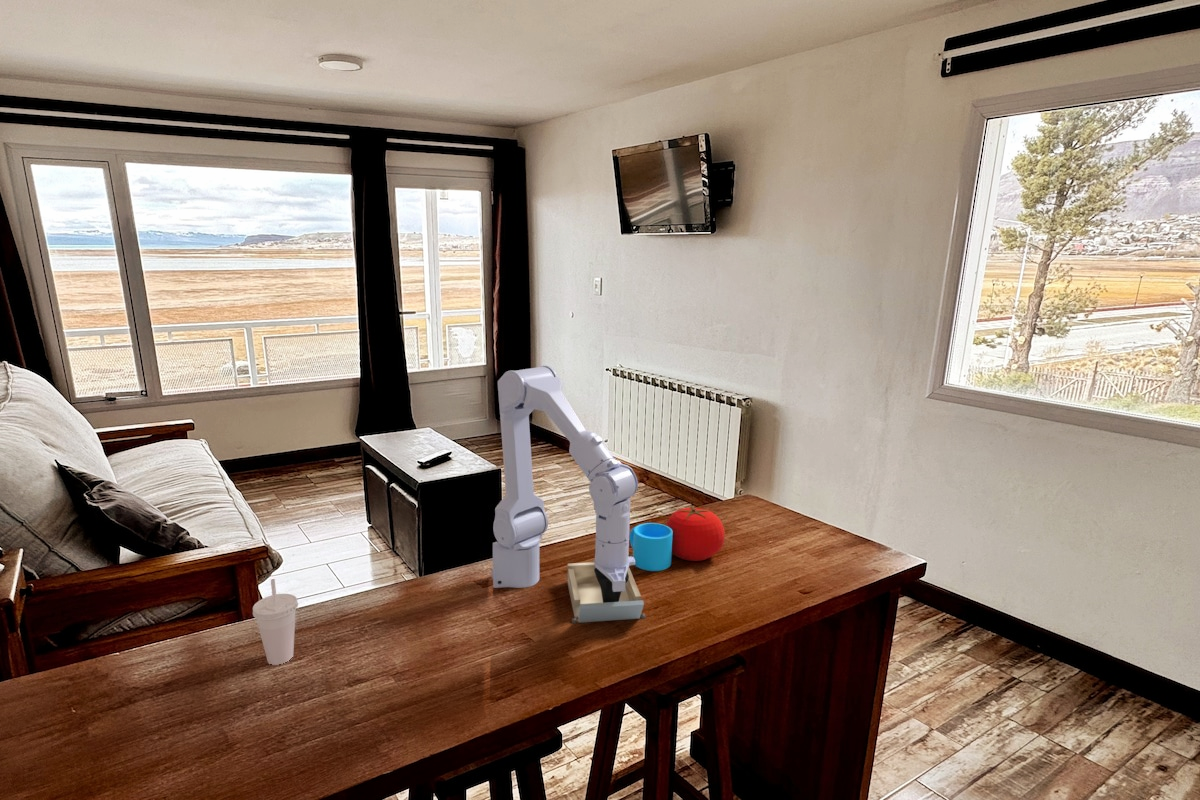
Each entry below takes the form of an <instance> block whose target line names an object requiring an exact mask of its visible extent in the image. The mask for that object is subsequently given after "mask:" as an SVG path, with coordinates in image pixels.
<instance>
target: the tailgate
mask: <svg viewBox="0 0 1200 800" xmlns="http://www.w3.org/2000/svg"><path fill="white" fill-rule="evenodd" d="M644 606H645V603H644V599H643V600H642V599H641V600H639V601H623V602H606V603H590V604H580V609H579V615H578V618H577V620H578V621H577V623H591V622H594V623H595V622H607V621H621V620H622V621H623V620H624V621H625V620H636V619H641V617H640V615H641V614H642V612H643V609H644Z"/></svg>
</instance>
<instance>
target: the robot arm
mask: <svg viewBox="0 0 1200 800" xmlns="http://www.w3.org/2000/svg"><path fill="white" fill-rule="evenodd" d="M497 391H498V404H499V415H500V417H499V420H500V432H501V444H502V445H501V446H502V457H503V461H502V462H503V473H504V485H505V486H504V487H505V489H504V490H505V496H504V497H503V498H502V499H501V500H500V501H499V502H498V504H497V505H496V507H495V509H494V513H495V515H494V521H493V526H492V528H493V529H492V530H493V535H494V537H495V539H496V541H495V542H492V569H491V579H492V587H493V588H495V589H498V588H518V589H523V588H528V587H529V588H530V587H533V586H535V585H536V584H538V582H539V581H540V541H541V540H542V539H543V534H544V533H546V532H547V529H548V527H549V519H548V515H547V512H546V510H545V505H544V500H543V499H542V497H540V496H538V495H537V494H535V493H534V490H535V489H534V477H533V462H532V461H533V460H532V459H533V458H532V447H531V432H530V431H531V430H530V414H531V413H532V412H534V411H541V412H542V411H543V412H544V413H545V414H546V415H547V417H548V418H549V419H550V420H551V421H552V422H553V423H554V425H555V426H556V427H557V428H558V430H559V431H560V432H561V433H562V435H564V437H565V438H566V439H567V440H568V441H569V449H568V450H569V451H568V452H569V454H570V456H571V457H572V459H573V460H574V461H575V463H576V464H577V466H578V467H579V469H581V471H582V473H583V474H584V475H585V477H586V478H587V480H588V481H589V483H590V484H589V485H588V490H589V495H590V497H591V499H592V502H593V510H594V512H595V551H594V553H595V555H594V559H593V560H594V561H593V562H594V566H595V567H596V568H595V569H594V571H595V575H596V578H597V580H598V582H599V584H600V587H601V593H602V599H603V603H606V602H619V599H620V595H621V592H622V591H625V584H626V583H627V581H628V579H629V575H628V572H627V571H628V568H630V566H635V559H634V557H633V555H632V556H629V551H630V519H631V498H632V497H634V496H635V494H637V491H638V488H639V481H638V478H637V475H636V473H635V471H634V469H633V468H632V467H631V466H630V465H627V464H624V463H622V462H621V461H620V460H618V459H617V460H616V458H615V456H614V455H613V454H612V452H611V451H610V450H609V449H608V447H607V446H606V444H605V443H604V440H603V439H602V437H601V436H600V435H599V434H598V433H596V432H593V431H592V432H591V431H588V430H587V429H586V428H585V426H584V425H583V424H582V421H581V420H580V419H579V417H578V415H577V414H576V412H575V411H574V409H573V407H572V406H571V404H570V403H569V402H570V401H568V400H567V398H566V395H564V393H563V381H562V379H561V378H560V377H559V376H558V375H557V371H555V369H554V368H553V367H552V366H549V365H541V366H537V367H532V368H525V369H524V368H523V369H519V370H511V369H510V370H508V371H505V372H504V373H503V375H502V376H501V377H500V378H499V379H498V380H497Z"/></svg>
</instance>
